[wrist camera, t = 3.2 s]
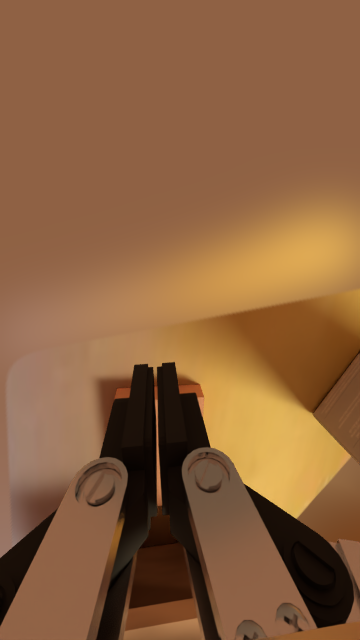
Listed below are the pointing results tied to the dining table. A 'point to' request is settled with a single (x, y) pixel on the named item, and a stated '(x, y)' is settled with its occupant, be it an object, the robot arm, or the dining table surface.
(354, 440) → the skincare box
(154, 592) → the tan open box
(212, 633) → the robot arm
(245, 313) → the dining table surface
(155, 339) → the dining table surface
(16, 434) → the dining table surface
